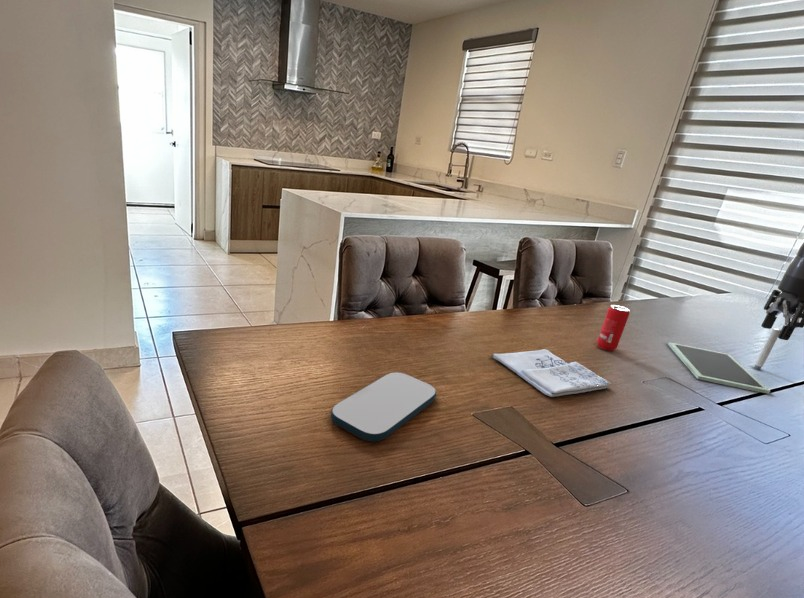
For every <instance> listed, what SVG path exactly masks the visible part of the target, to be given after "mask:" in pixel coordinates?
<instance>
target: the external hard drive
mask: <svg viewBox="0 0 804 598" xmlns="http://www.w3.org/2000/svg"><path fill="white" fill-rule="evenodd" d="M436 396H437V390H436V388H435V387H434V386H433V385H431V384H429V383H427V382H425V381H423V380H421V379H419V378H416V377H413V376H411V375H409V374H407V373H403V372H400V371H395V372H389V373H387V374H385V375H383V376H381V377H380V378H378V379H377V380H375V381H373V382H371V383H369V384H368V385H365V386H364V387H363V388H361V389H359V390H357V391H356V392H354V393H352V394H351V395H349V396H347V397H345V398H344V399H342V400H341V401H339V402H337V403H336V404H335V405H333V407H332V408H331V411H330V419H331V421H332V423H333V424H335V425H336V426H337V427H339V428H340V429H343V430H345V431H346V432H348V433H350V434H352V435H353V436H355V437H357V438H359V439H361V440H363V441H366V442H371V443H373V442H374V443H375V442H380V441H383V440H385V439H387V438H388V437H389V436H391V435H393V433H395V432H396V431H397V430H399V429H400V428H401V427H402V426H404V425H405V424H406V423H408V422H409V421H410V420H411V419H413V418H414V417H416V416H417V415H419V414H420V413H421V412H422V411H424V410H425V409H426V408H427V407H429V406H430V405H431V404H432V403H433V402H434V401H435V400H436Z"/></svg>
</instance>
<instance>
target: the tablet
mask: <svg viewBox="0 0 804 598" xmlns="http://www.w3.org/2000/svg"><path fill="white" fill-rule="evenodd" d="M667 345H668V346H669V348H670V349H671V350H672V351H673V353H674V354H675V355H676V356H677V357H678V358H679V359H680V360H681V362H682V363H683V364H684V365H685V366H686V368H687V369H688V370H689V371H690V372H691V373H692V374H693V376H694V377H695V378H696V379H697V380H700V381H704V382H709V383H715V384H720V385H724V386H728V387H733V388H738V389H743V390H748V391H752V392H757V393H762V394H767V395H770V393H771V389H769V388H768V387H767V386H766V385H765V384H764V383H762V382H761V380H759V379H758V378H757V377H756V376H754V374H753V373H752V372H750V371H749V370H748V369H747V368H746V367H744V365H742V364H741V363H740V362H739V361H738V360H737V359H735V357H733V356H732V355H731V354H730V353H728V352H727V353H726V352H721V351H716V350H711V349H705V348H701V347H697V346H690V345H685V344H681V343H675V342H671V341H669V342H668V344H667Z"/></svg>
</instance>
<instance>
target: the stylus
mask: <svg viewBox="0 0 804 598" xmlns="http://www.w3.org/2000/svg"><path fill="white" fill-rule="evenodd" d="M780 331H781V329H779V328H776V327H772V328H771V331H770V333H769V335H768V336H767V339H766V341H765V343H764V344H763V346H762V348H761V351H760V352H759V354H758V356H757V359H756V360H755V362H754V367H753V368H754V369H755V370H757V371H760V370H761V369H762V368H763V367H764V365H765V363H766V361H767V359H768V358H769V355H770V353H771V351H772V350H773V348H774V346H775V344H776V342H777V340H778V339H779V338H778V335H779V333H780Z"/></svg>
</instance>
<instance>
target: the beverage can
mask: <svg viewBox="0 0 804 598" xmlns="http://www.w3.org/2000/svg"><path fill="white" fill-rule="evenodd" d="M629 316H630V309H629V308H628V307H626V306H623V305H618V304H610V307H608V309H607V312H606V315H605V318H604V321H603V324H602V326H601V329H600V332H599V335H598V337H597V340H596V343H597V347H598V348H599V349H601V350H604V351H608V352H614V351H615V350H616V349H617V348H618V346H619V343H620V341H621V338H622V335H623V332H624V330H625V327H626V325H627V322H628V318H629Z"/></svg>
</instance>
